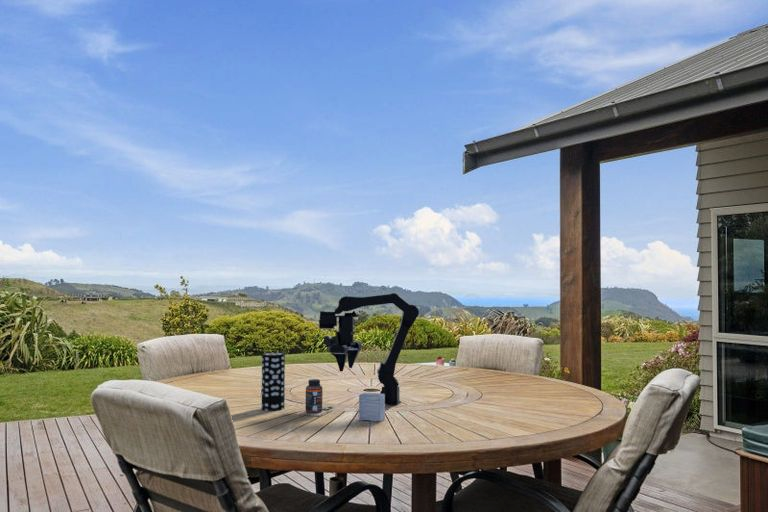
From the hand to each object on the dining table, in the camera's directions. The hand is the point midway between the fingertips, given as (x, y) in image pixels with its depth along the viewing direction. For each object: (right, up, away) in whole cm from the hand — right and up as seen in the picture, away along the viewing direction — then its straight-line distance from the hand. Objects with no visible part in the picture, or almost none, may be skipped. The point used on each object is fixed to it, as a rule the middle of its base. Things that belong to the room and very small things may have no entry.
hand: (346, 369), depth 234 cm
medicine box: (+11, -12, -29) cm, 33 cm away
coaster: (-10, -12, -18) cm, 24 cm away
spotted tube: (-26, -13, -10) cm, 31 cm away
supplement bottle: (-10, -12, -18) cm, 24 cm away
